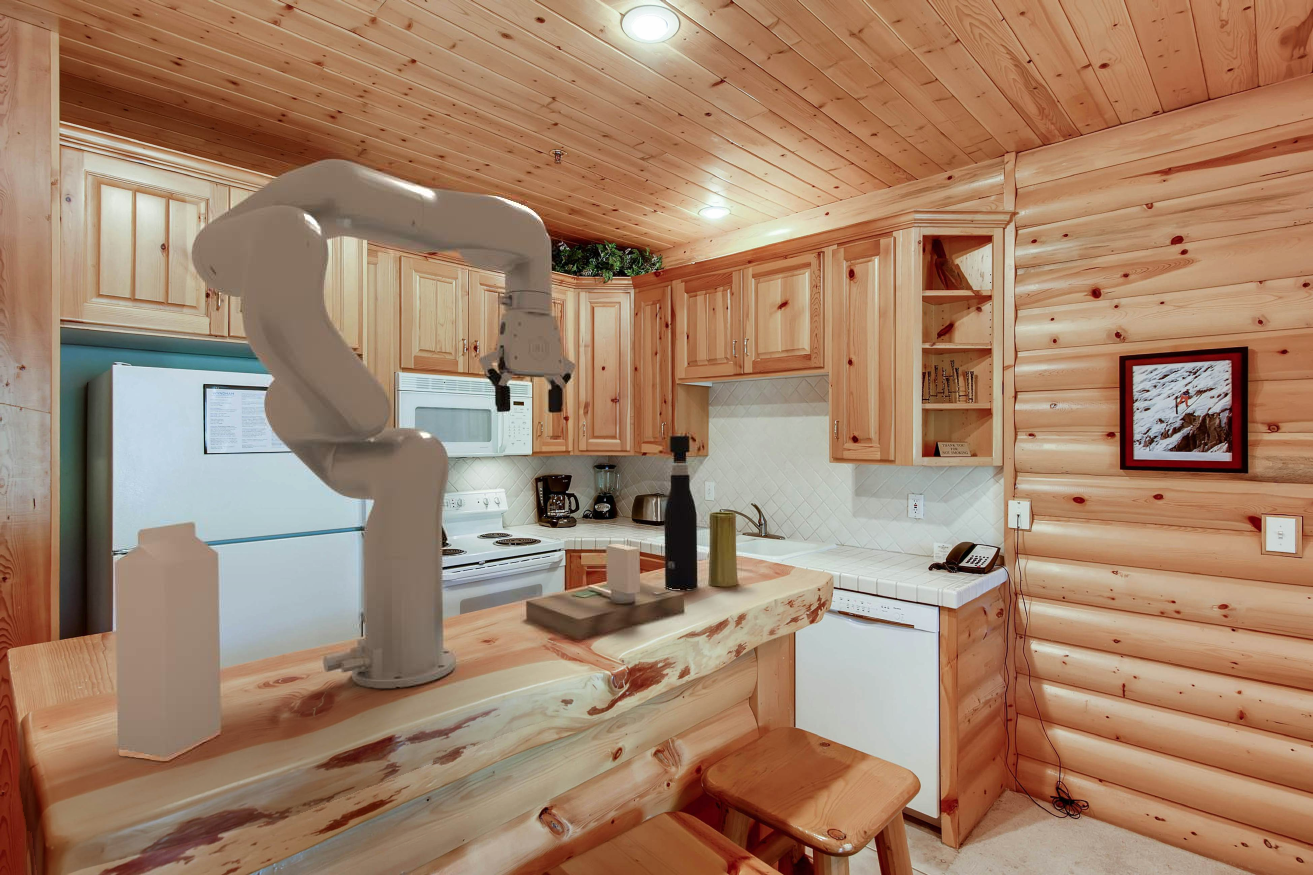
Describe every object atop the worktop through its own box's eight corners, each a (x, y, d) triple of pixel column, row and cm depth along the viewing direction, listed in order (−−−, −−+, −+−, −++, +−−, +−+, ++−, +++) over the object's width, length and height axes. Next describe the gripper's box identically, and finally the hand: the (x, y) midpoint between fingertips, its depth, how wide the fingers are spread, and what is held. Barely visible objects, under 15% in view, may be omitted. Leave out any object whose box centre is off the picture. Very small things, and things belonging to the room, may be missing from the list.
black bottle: (698, 583, 133) (696, 435, 133) (696, 590, 127) (695, 435, 126) (666, 582, 134) (664, 436, 133) (663, 590, 127) (662, 436, 127)
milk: (221, 735, 68) (220, 522, 68) (165, 763, 62) (164, 530, 62) (174, 729, 69) (173, 520, 69) (115, 756, 63) (113, 528, 63)
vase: (723, 578, 137) (722, 510, 137) (744, 583, 132) (744, 513, 132) (702, 583, 133) (701, 513, 133) (723, 588, 128) (722, 515, 128)
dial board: (579, 639, 98) (578, 617, 98) (526, 618, 109) (526, 599, 109) (684, 611, 112) (684, 592, 112) (628, 595, 124) (628, 578, 124)
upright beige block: (644, 601, 106) (643, 547, 106) (623, 606, 104) (623, 550, 104) (599, 587, 116) (599, 538, 116) (580, 591, 114) (579, 540, 114)
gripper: (491, 296, 98) (493, 410, 98) (585, 310, 110) (586, 412, 110) (468, 304, 104) (470, 412, 104) (560, 316, 116) (561, 413, 116)
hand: (530, 412), depth 107 cm, fingers open, 9 cm apart
